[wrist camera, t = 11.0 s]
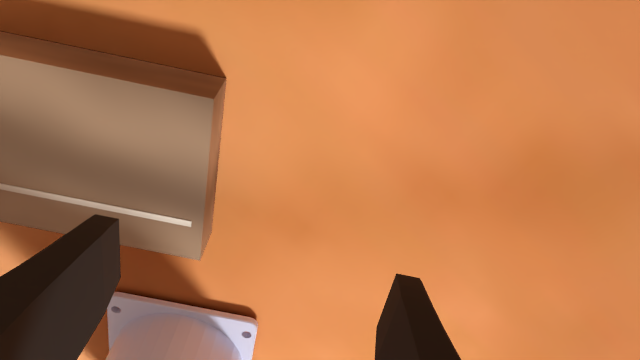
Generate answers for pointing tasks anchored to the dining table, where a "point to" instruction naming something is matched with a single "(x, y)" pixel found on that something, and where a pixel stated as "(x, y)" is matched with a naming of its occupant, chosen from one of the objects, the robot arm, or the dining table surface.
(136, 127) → the plank
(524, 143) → the dining table surface
